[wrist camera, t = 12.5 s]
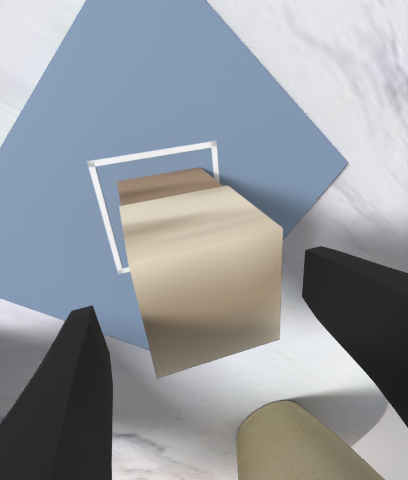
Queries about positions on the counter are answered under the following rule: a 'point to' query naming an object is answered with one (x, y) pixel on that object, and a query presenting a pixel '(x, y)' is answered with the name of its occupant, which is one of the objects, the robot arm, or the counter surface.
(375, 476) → the plant pot
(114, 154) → the blueprint board
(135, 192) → the walnut block
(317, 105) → the counter surface
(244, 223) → the ash block
